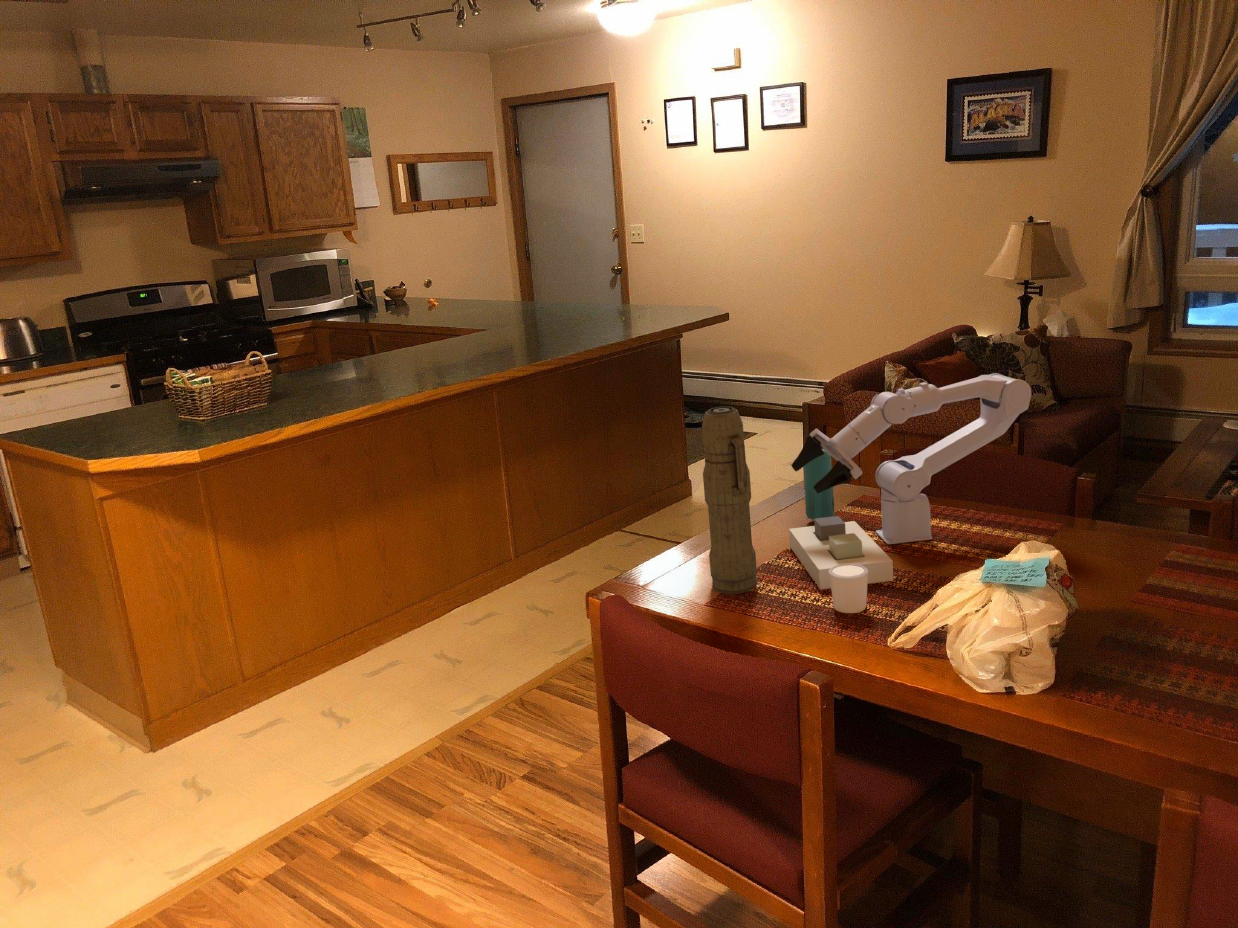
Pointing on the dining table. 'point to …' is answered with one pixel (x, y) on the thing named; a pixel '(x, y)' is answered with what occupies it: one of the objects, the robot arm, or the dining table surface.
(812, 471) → the beverage bottle
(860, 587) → the white cup
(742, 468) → the thermos
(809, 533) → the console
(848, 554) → the sage key
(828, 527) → the charcoal key
